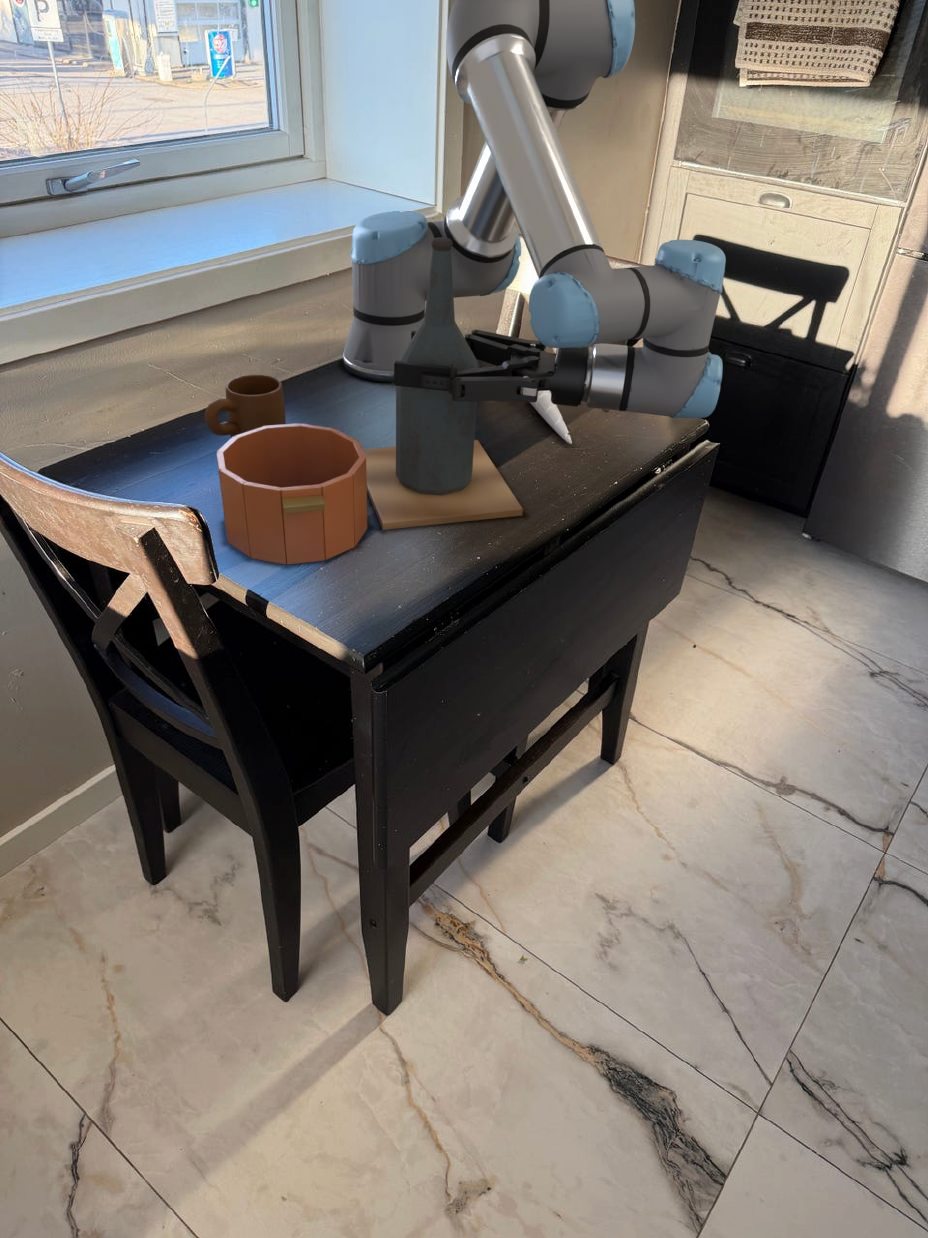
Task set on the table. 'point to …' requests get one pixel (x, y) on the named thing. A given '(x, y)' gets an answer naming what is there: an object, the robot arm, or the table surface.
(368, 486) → the wooden board
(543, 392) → the unicorn horn
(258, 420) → the mug
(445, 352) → the bottle
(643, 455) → the table surface
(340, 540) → the ice bucket
